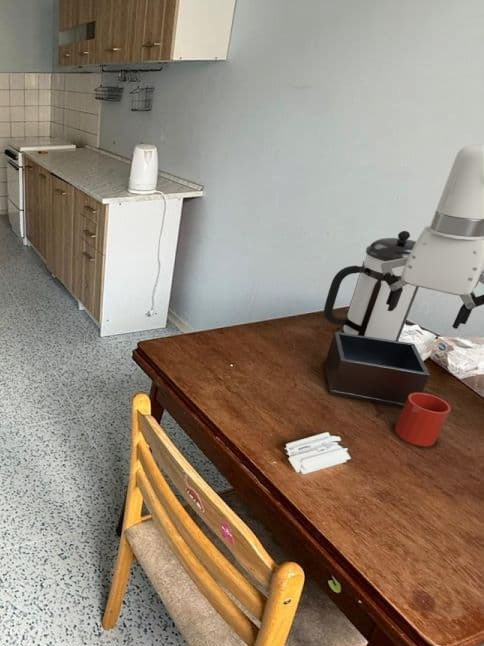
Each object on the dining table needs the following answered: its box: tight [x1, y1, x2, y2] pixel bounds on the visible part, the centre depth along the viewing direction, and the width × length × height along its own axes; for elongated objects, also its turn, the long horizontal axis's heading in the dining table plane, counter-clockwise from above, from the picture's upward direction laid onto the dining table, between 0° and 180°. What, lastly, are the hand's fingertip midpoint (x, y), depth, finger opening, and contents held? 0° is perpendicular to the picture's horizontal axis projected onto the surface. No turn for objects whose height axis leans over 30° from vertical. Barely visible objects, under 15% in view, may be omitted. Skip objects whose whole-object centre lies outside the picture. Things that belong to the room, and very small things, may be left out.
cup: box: [394, 392, 452, 447], centre depth 91 cm, size 6×6×8 cm
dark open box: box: [324, 331, 431, 409], centre depth 106 cm, size 16×14×9 cm
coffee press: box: [323, 230, 420, 341], centre depth 118 cm, size 17×16×30 cm
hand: (422, 317), depth 86 cm, fingers open, 9 cm apart
